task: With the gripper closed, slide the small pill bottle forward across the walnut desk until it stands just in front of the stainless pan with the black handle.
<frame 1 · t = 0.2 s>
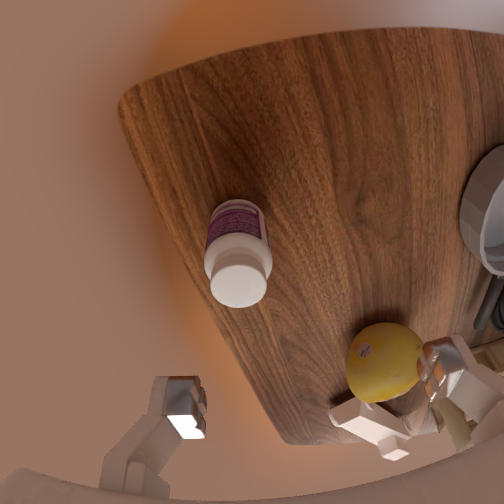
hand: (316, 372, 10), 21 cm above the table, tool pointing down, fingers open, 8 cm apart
pan: (501, 200, 30), on the table
pill bottle: (237, 222, 31), on the table
toy truck: (371, 410, 53), on the table
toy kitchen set: (470, 371, 50), on the table
fruit: (373, 335, 40), on the table
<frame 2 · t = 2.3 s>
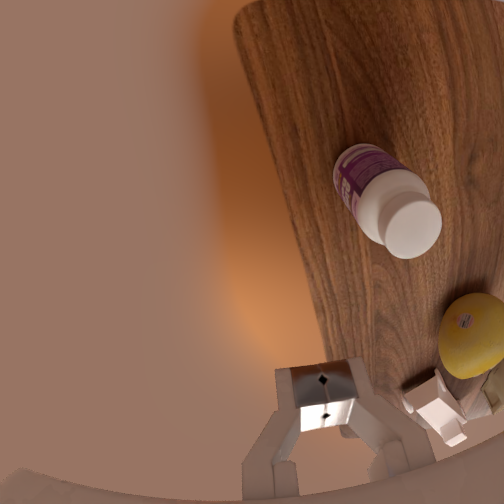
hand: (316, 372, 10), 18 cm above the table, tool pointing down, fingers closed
pill bottle: (360, 172, 25), on the table
toy truck: (433, 395, 47), on the table
fruit: (458, 308, 35), on the table
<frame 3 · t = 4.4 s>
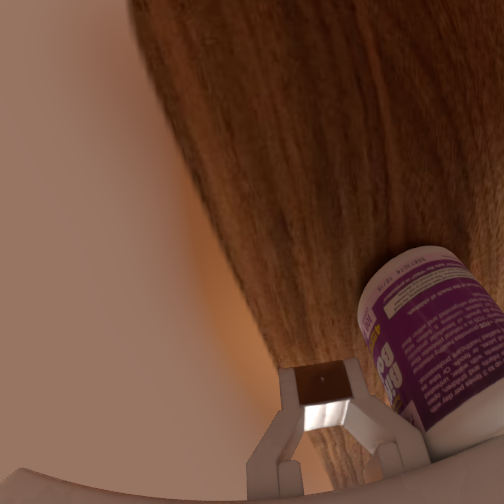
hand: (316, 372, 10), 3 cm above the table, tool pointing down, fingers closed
pill bottle: (406, 290, 13), on the table, touching gripper
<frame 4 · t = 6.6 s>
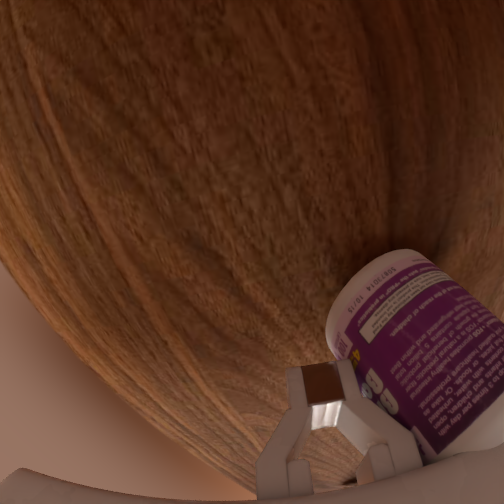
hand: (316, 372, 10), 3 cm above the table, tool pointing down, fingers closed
pill bottle: (372, 299, 12), point 1 cm above the table, touching gripper
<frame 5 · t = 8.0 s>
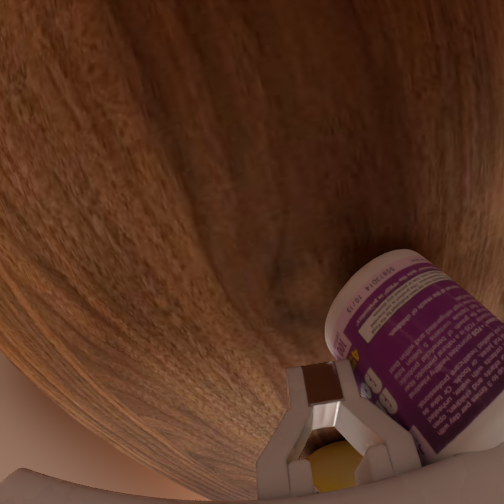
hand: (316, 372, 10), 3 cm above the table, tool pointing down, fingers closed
pill bottle: (371, 299, 12), point 1 cm above the table, touching gripper
fruit: (340, 446, 23), on the table
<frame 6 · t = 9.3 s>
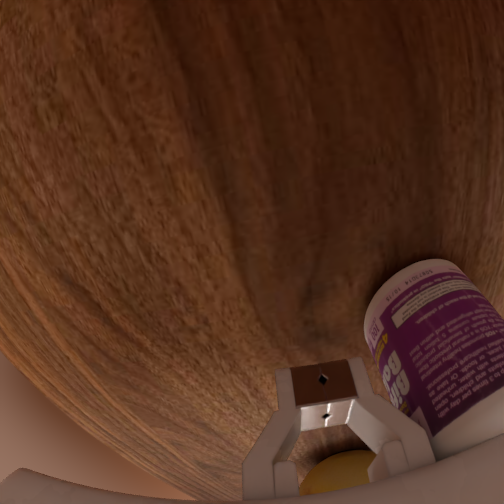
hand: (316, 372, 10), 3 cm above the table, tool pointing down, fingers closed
pill bottle: (411, 303, 13), on the table, touching gripper
fruit: (346, 456, 23), on the table
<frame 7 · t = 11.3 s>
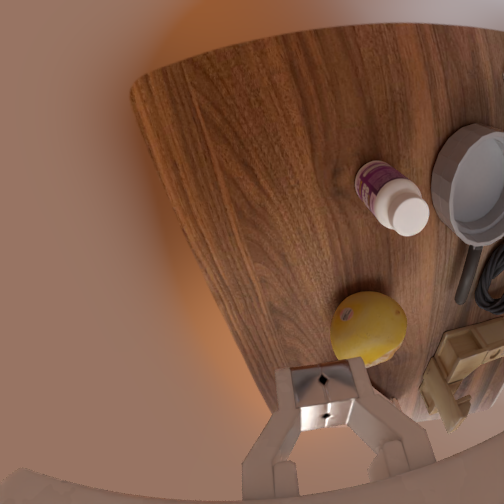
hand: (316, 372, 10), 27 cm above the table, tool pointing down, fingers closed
pan: (472, 177, 34), on the table
pill bottle: (374, 181, 35), on the table
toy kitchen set: (459, 354, 54), on the table
fruit: (357, 306, 44), on the table
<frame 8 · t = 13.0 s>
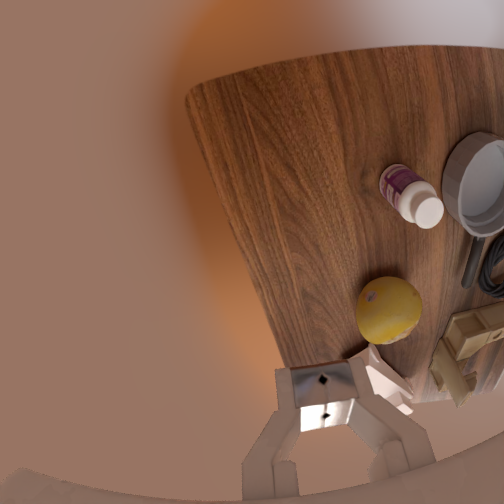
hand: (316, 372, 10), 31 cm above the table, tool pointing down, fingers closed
pan: (476, 178, 39), on the table
pill bottle: (394, 181, 40), on the table
toy truck: (377, 369, 62), on the table
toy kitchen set: (464, 336, 59), on the table
fruit: (377, 290, 50), on the table
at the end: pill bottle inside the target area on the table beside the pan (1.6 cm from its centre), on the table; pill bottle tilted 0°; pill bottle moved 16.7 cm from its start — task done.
